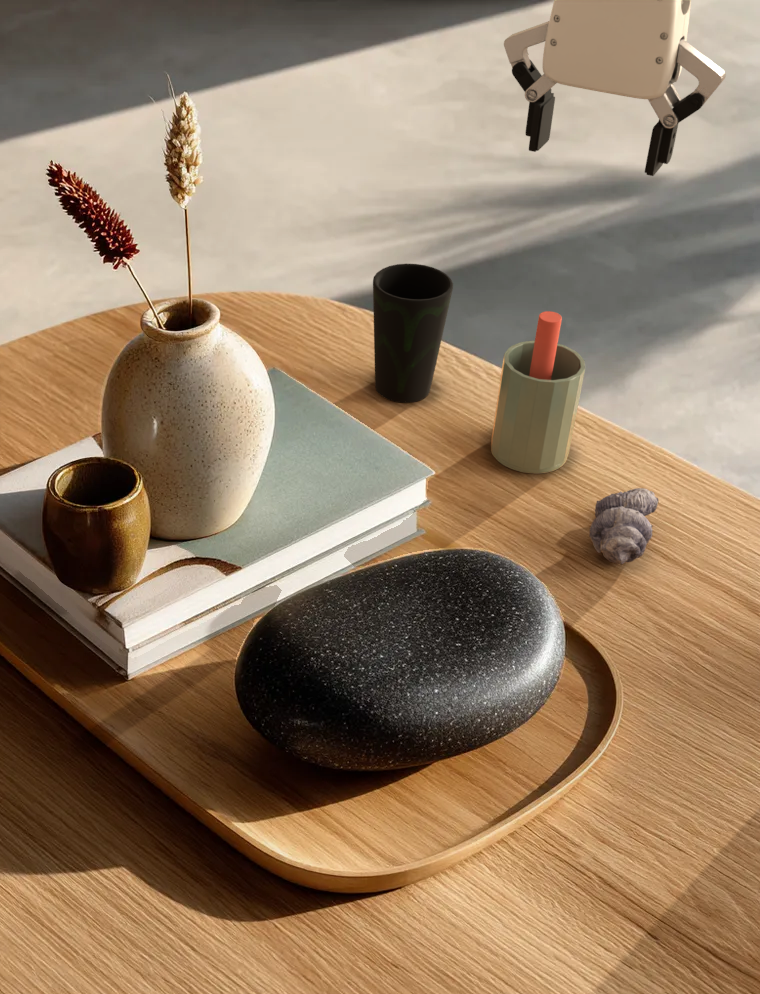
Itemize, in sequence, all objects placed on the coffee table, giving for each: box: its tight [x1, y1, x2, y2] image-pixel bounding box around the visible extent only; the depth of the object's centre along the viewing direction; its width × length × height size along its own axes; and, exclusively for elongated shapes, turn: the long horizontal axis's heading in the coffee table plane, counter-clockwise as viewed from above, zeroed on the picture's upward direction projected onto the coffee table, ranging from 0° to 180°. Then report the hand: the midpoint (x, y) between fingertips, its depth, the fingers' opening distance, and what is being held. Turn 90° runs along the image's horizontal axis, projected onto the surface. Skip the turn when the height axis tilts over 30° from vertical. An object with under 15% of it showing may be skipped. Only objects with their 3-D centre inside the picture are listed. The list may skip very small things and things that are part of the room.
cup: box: [372, 263, 454, 404], centre depth 131 cm, size 8×8×12 cm
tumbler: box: [490, 339, 586, 475], centre depth 123 cm, size 7×7×10 cm
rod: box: [529, 310, 563, 380], centre depth 122 cm, size 2×2×14 cm
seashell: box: [588, 487, 659, 565], centre depth 114 cm, size 5×5×10 cm
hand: (595, 157), depth 108 cm, fingers open, 9 cm apart
